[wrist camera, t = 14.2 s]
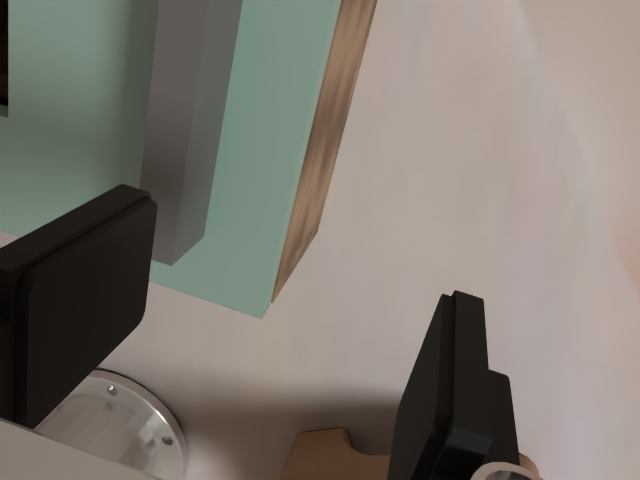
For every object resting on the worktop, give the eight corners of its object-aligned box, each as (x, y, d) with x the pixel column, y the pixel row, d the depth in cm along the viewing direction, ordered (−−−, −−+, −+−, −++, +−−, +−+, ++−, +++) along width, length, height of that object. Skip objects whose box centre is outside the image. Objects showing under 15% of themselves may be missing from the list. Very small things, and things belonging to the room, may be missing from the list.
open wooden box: (317, 232, 35) (272, 303, 26) (21, 138, 37) (-103, 177, 29) (392, -59, 28) (363, -84, 20) (25, -153, 30) (-137, -210, 22)
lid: (269, 305, 26) (237, 357, 22) (-109, 178, 28) (-197, 205, 25) (361, -85, 19) (336, -106, 16) (-146, -213, 22) (-274, -258, 18)
